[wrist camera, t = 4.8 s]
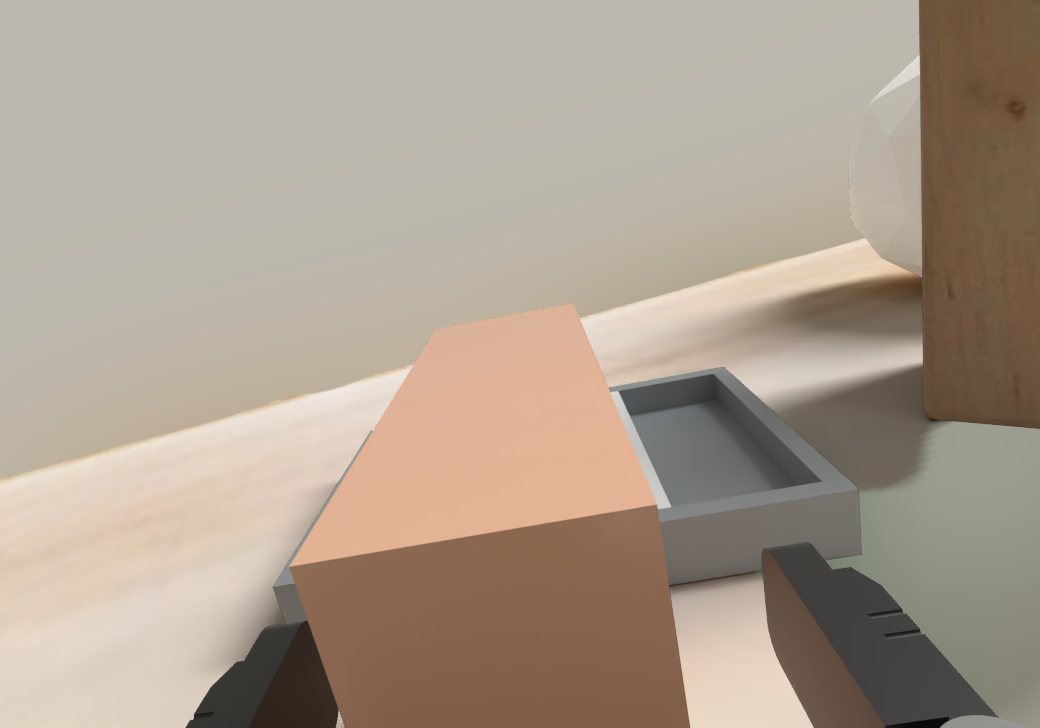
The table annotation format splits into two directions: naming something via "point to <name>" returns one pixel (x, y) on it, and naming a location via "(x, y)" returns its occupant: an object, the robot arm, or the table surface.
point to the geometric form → (890, 172)
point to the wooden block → (980, 210)
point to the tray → (713, 481)
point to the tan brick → (496, 547)
